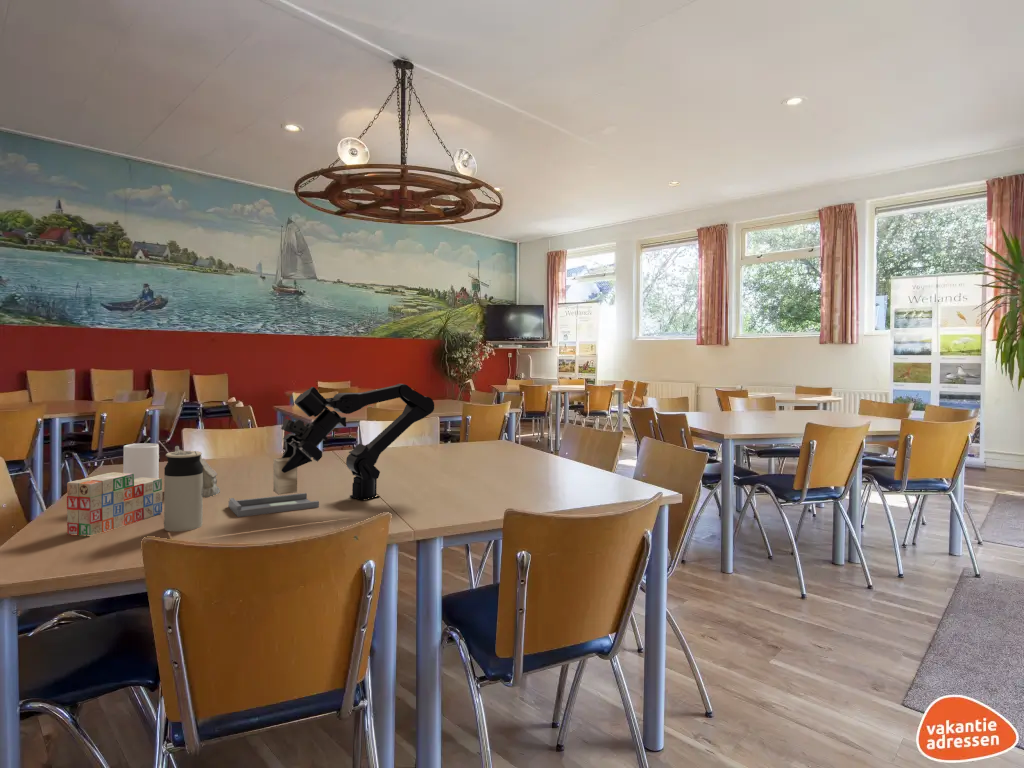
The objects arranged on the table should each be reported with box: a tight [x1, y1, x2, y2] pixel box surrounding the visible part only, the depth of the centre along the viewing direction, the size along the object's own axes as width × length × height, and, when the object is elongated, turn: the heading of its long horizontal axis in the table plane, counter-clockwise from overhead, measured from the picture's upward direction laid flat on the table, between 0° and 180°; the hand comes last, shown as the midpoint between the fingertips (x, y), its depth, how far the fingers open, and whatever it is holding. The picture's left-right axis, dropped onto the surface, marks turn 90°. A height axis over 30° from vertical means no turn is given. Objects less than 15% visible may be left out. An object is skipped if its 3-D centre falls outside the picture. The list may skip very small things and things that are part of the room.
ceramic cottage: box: [174, 445, 221, 498], centre depth 177 cm, size 16×16×15 cm
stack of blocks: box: [66, 471, 163, 535], centre depth 142 cm, size 21×6×12 cm, turn 170°
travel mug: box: [163, 450, 204, 532], centre depth 140 cm, size 8×8×18 cm
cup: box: [122, 442, 160, 479], centre depth 162 cm, size 8×8×16 cm
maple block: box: [272, 457, 298, 496], centre depth 162 cm, size 5×5×9 cm
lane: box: [228, 492, 320, 518], centre depth 160 cm, size 21×12×3 cm, turn 126°
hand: (280, 470), depth 161 cm, fingers closed on maple block, 5 cm apart
